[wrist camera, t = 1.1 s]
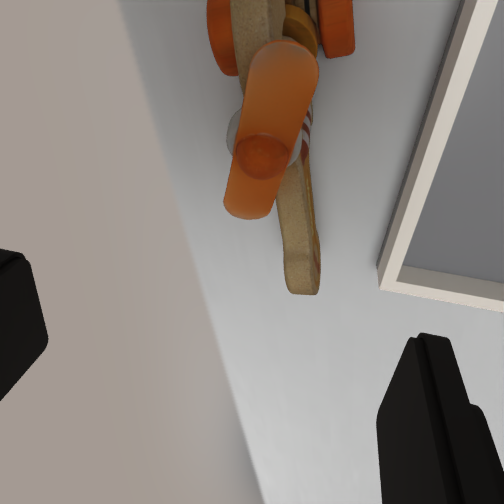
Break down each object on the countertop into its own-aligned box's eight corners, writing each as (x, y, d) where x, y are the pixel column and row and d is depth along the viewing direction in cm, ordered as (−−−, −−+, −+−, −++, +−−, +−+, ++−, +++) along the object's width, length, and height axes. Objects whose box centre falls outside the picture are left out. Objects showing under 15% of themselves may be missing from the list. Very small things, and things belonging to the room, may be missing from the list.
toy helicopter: (349, -62, 23) (353, -117, 12) (363, 244, 34) (373, 371, 22) (216, -30, 25) (111, -49, 14) (268, 249, 36) (232, 368, 24)
